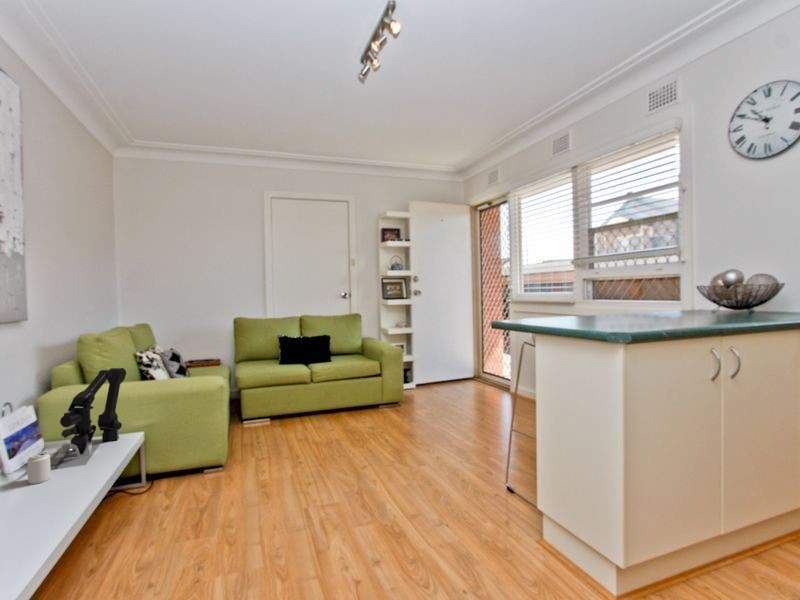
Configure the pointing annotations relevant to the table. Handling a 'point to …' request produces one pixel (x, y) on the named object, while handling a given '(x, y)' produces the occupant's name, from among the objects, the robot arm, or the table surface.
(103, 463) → the table surface
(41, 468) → the can
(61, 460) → the ratchet
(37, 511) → the table surface
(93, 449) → the mat
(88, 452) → the socket
